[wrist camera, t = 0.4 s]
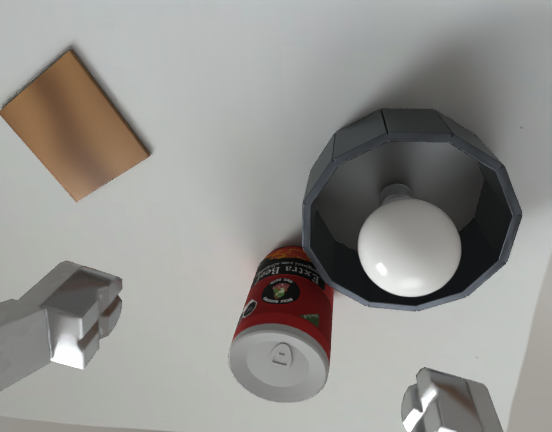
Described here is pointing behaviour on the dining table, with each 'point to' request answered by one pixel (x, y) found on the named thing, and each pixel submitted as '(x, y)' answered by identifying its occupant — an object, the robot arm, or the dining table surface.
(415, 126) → the dark grey polygonal container
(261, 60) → the dining table surface
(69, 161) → the coaster
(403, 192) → the lightbulb
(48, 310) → the robot arm
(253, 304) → the canned food
